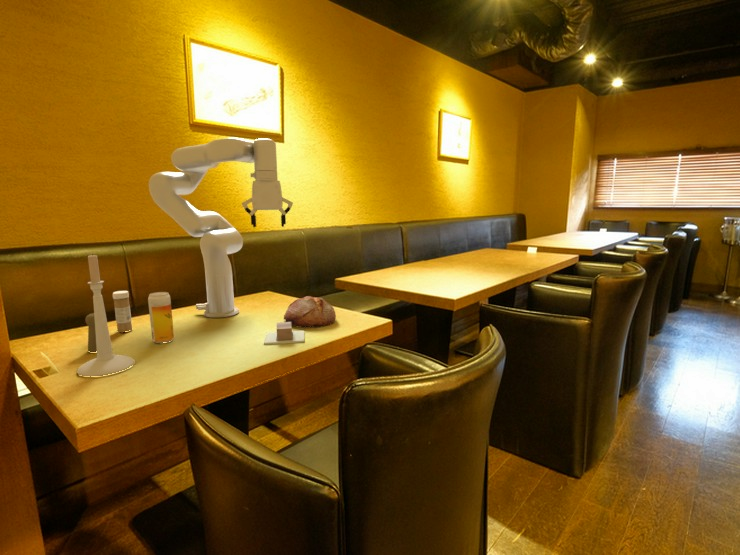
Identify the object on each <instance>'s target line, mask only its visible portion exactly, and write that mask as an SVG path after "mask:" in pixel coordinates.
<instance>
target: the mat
mask: <svg viewBox="0 0 740 555" xmlns="http://www.w3.org/2000/svg"><path fill="white" fill-rule="evenodd" d="M299 343H305V330H292V339H288V340H277V331H273V332H271V331H270V332H266V334H265V337H264V341H263V345H265V346H266V345H268V346H269V345H281V344H282V345H283V344H299Z"/></svg>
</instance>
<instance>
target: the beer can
mask: <svg viewBox="0 0 740 555" xmlns="http://www.w3.org/2000/svg"><path fill="white" fill-rule="evenodd" d="M171 300H172V299H171V295H170V294H169V292H167V291H157V292H151V293H149V294H148V297H147V302H148V310H149V313H148V314H149V322H150V330H151V341H152V342H153V343H155V342H156V343H163V342H168V343H170V342H169V341H171V340H172V339H174V338H175V334H174V332H175V331H174V323H173V321H174V320H173V311H172V301H171ZM172 341H173V340H172ZM172 341H171V342H172ZM156 343H155V344H156Z"/></svg>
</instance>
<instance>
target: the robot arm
mask: <svg viewBox="0 0 740 555" xmlns="http://www.w3.org/2000/svg"><path fill="white" fill-rule="evenodd" d="M170 157H171V164H172V165H173V166H174V167H175V168H176V169H178V170H179V171H181V172H175V171H160V172H156V173H154V174H152V175H151V177H150V178H149V180H148V189H149V194H150V196H151V198H152V201H153V202H154V203H155V204H156V205H157V206H158V207H159V208H160V209H161V210H162V211H163V212H164V213H166V214H167V215H168V216H169V217H170V218H171V219H173V220H174V222H176V223H177V224H178V226H180V227H181V228H182V229H183V231H185V232H186V233H187V234H188V235H189V236H192V237H193V238H200V240H199V241H200V242H199V248H200V250H201V251H200V252H201V255H202V258H203V264H204V265H203V266H204V273H205V274H204V276H205V289H206V300H207V302H205V303H196V304H195V309H196V310H198V311H200V310H201V311H202V310H204V311H203V315H204V317H206V318H207V317H208V318H212V319H213V318H215V319H217V318H228V317H232V316H235V315H237V314H239V313H240V309H239V308H238V307H236V306H235V297H234V296H235V295H234V283H233V282H234V281H233V268H232V264H231V261H230V258H229V257H228V255H231V254H235V253H237V252H239V251H241V249H242V248H243V245H244V239H243V236H242V234H241V233H240V232H239V231H238V229H236V228H235V227H234V226H233V225H232V224H231V223H230V222H229V221H228V220H227V219H226V218H225V217H223V216H222V215H221V214H220V213H218V212H216V211H211V210H206V211H205V210H204V211H203V210H199V209H197V208H196V207H194V205H192V204H191V203H190V202H189V201H188V200H186V199H185V198H183V197H182V196H187V195H190V194H192V193H194V191H195V190H196V189H197V187H198V186H199V184H200V183H201V182H202V180H203V179H204V177H205V176H206V174H207V173H208V170H209V169H215V168H217V167H218V166H219V164H221V163H225V162H226V163H227V162H241V163H247V164H254V172H252V173H250V178H253V179H254V180H252V183H251V184H252V185H251V197H250V198H249V199H247V200H245V201H243V202H241V205H242V207H243V209H244V211H245V212H247V214H249V216H250V224H251V226H252V227H253V228H256V227H257V217H256V212H257V211H277V210H278V211H279V212H280V213H281V215H280V222H281V224H280V225H281V227H282V228H283V227H285V225H286V224H287V222H286V219H287V218H286V216H287V214H288V212H290V211H291V209H292V207H293V206H294V202H293V201H290V199H287V198H284V197H283V192H282V185H281V181H280V180H278V162H277V158H278V157H277V144H276V142H275V140H274V139H270V138H258V139H257V138H256V139H254V140H249V139H244V138H239V137H226V138H218V139H213V140H211V141H209V142H207V143H204V144H197V145H189V146H184V147H180V148H179V147H178V148H176V149H175V150H173V152H172V153H171V156H170ZM284 203H285V204H287V207H286V208H285V209H284V208H283V204H284ZM249 204H251V205H252V210H251V209H250V208H249V207H248V205H249Z"/></svg>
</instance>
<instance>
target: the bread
mask: <svg viewBox="0 0 740 555" xmlns="http://www.w3.org/2000/svg"><path fill="white" fill-rule="evenodd" d="M336 317H337V315H336V311H335V308H334V307H333V305H332V304H331V303H330V302H329V301H326V300H325V299H323V298H322V297H318V296H317V297H315V296H311V295H307V296H304V297H300V298H297V299H295V300H294V301H293V302H291V303H290V304H289V306H288V307H287V309H286V311H285V313H284V315H283V320H285V321H284V322H291V326H293V327H296V326H298V328H304V327H310V328H321V326H322V327H326V326H330V324H331V325H333V324H335V322H336V321H337V320H336Z"/></svg>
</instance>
